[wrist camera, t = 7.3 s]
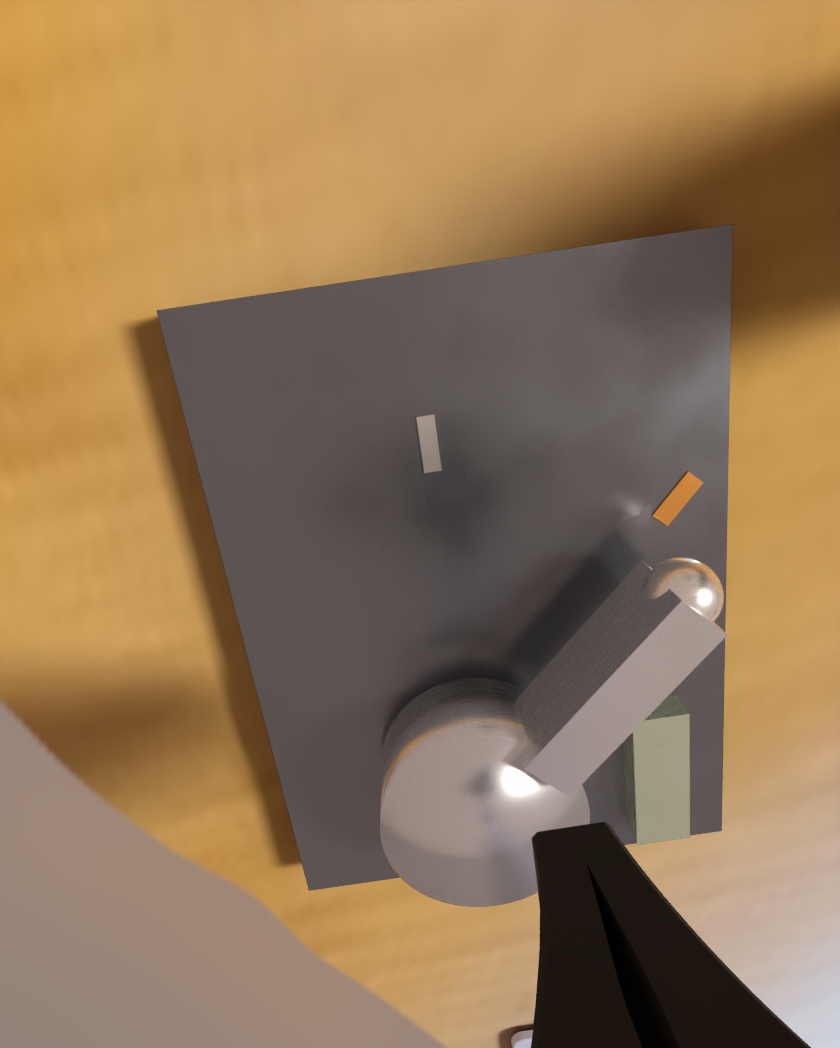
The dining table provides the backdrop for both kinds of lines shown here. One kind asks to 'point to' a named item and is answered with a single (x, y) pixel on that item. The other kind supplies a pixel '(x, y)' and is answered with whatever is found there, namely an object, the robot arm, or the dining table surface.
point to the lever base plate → (463, 504)
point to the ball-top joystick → (535, 739)
